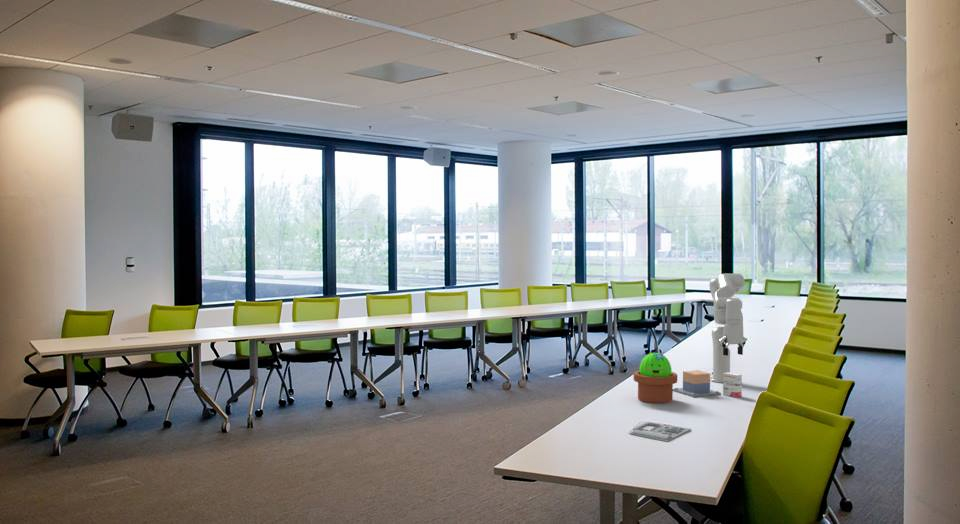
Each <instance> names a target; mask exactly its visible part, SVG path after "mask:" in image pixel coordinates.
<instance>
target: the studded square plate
mask: <svg viewBox="0 0 960 524" xmlns="http://www.w3.org/2000/svg"><path fill="white" fill-rule="evenodd" d="M710 378H711V373H710V372H707V371H701V370H700V369H699V370H686V371H684V370H683V371H682V387H680V388H678V387H674V388H673V392H675V393H677V394H681V395H684V396H687V395H688V396H687V397H692V398H702V397H703V398H704V397H711V395H713V396H720V395H722V392H720V391H718V390H712V389H711V380H710Z"/></svg>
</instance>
